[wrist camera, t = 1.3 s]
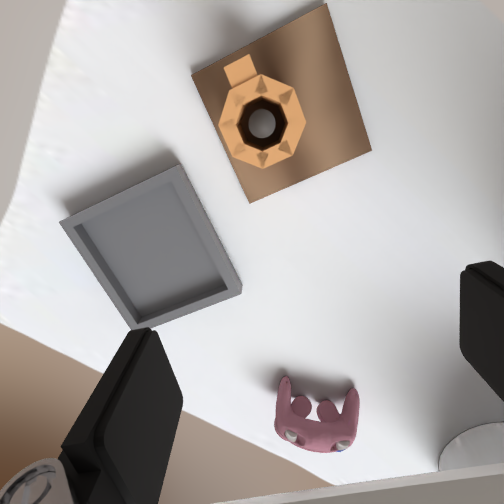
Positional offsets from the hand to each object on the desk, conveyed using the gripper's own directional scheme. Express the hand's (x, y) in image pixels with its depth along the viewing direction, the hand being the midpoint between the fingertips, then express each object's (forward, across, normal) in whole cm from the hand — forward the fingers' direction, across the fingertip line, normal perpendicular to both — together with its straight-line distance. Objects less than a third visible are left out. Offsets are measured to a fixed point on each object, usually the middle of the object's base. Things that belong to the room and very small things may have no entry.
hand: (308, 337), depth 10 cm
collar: (+22, 0, -6) cm, 23 cm away
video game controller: (+23, 0, +26) cm, 35 cm away
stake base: (+23, -2, -6) cm, 24 cm away
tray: (+24, +13, +4) cm, 27 cm away
